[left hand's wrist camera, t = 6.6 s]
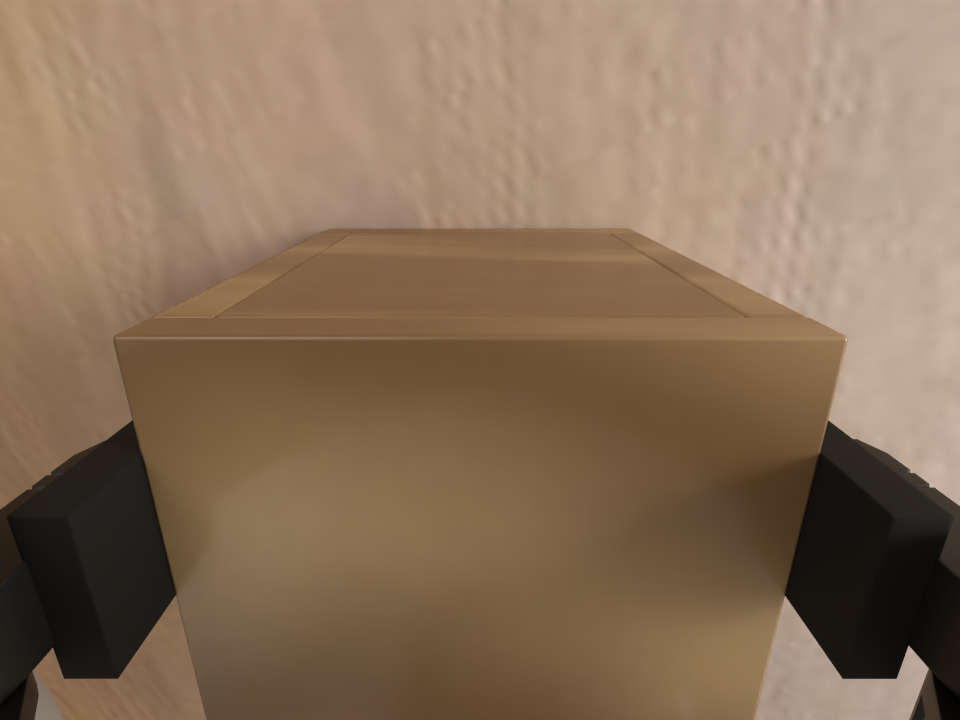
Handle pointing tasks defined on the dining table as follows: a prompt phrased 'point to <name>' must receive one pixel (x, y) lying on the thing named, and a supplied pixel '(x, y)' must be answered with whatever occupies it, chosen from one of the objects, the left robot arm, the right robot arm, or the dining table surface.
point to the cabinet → (480, 476)
